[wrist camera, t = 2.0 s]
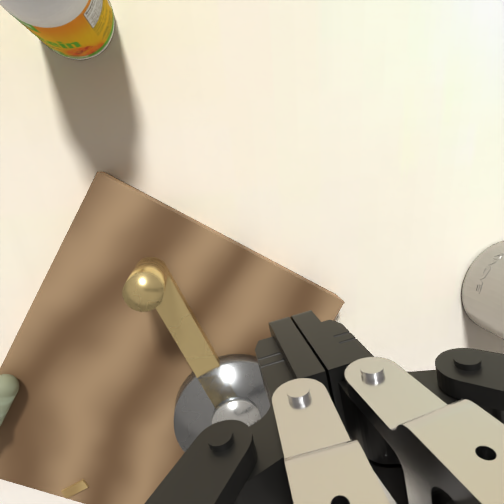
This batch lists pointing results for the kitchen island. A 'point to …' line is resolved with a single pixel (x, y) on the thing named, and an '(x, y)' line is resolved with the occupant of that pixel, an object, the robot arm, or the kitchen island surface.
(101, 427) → the levelling board
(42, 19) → the supplement bottle
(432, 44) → the kitchen island surface
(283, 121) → the kitchen island surface
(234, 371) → the grey and tan lever
